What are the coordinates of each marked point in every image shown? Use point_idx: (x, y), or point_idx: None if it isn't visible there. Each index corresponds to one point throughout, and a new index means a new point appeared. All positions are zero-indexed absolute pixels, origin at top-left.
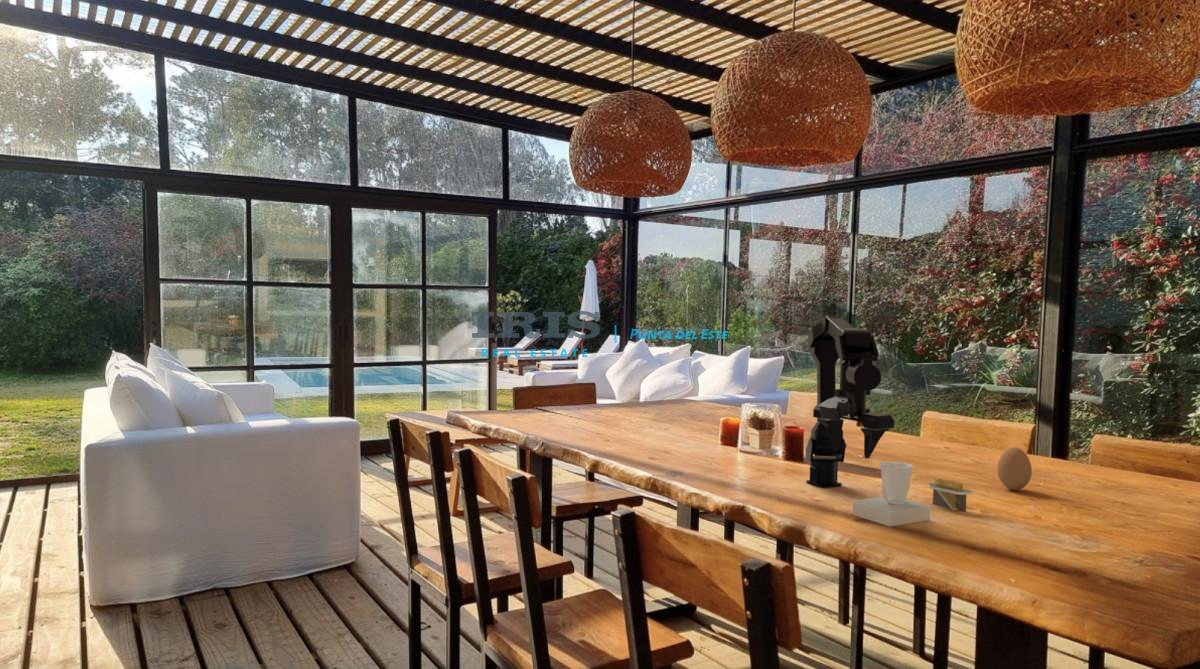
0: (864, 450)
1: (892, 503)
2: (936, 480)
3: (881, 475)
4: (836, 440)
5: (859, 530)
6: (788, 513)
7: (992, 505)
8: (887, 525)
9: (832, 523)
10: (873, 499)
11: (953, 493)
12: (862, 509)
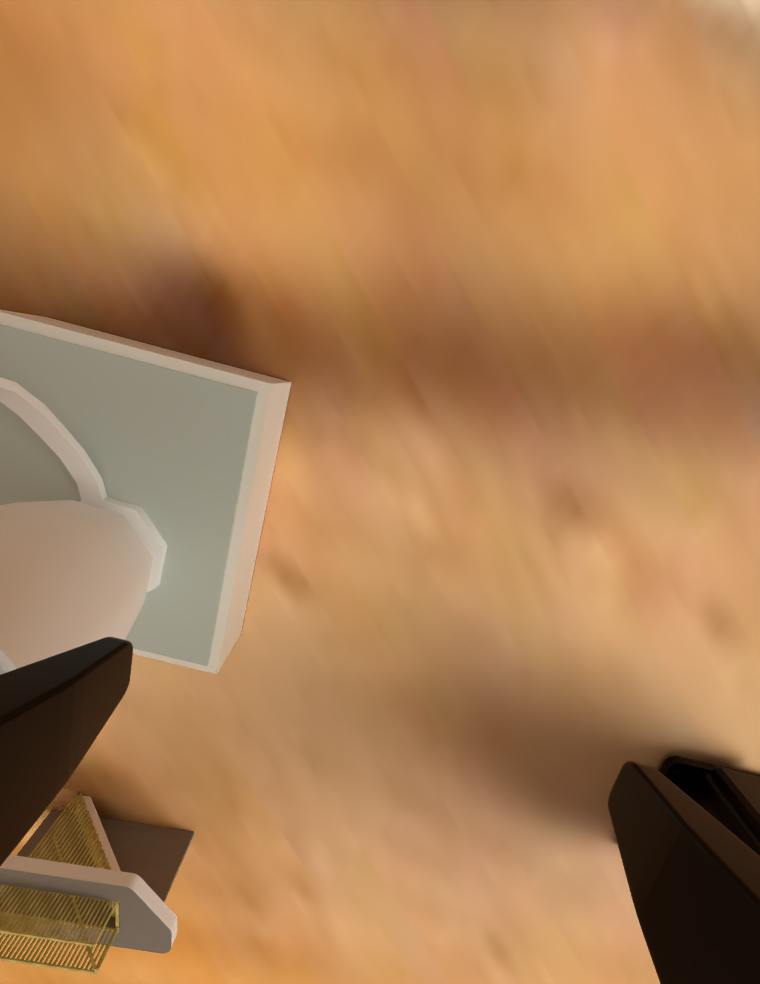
0: (45, 687)
1: (83, 489)
2: (92, 940)
3: (33, 547)
4: (702, 948)
5: (78, 90)
6: (548, 75)
7: (60, 948)
8: (61, 321)
9: (251, 97)
10: (209, 502)
11: (10, 855)
12: (209, 364)
